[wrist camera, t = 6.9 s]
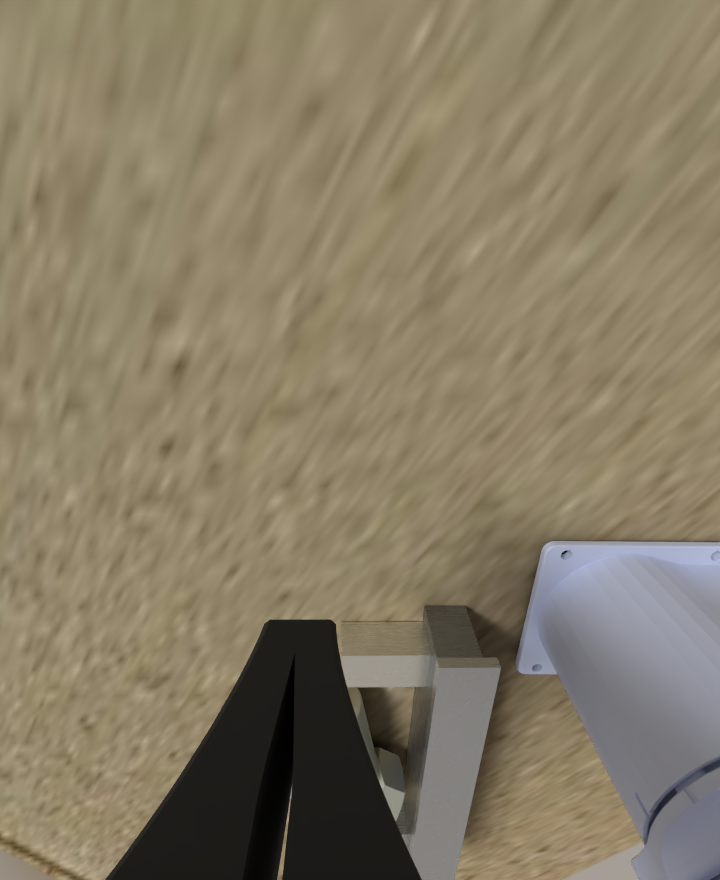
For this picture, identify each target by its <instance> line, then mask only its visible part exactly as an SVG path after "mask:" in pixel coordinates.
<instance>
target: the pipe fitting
mask: <svg viewBox="0 0 720 880" xmlns="http://www.w3.org/2000/svg"><path fill="white" fill-rule="evenodd" d="M347 688H348V692H349V696H350V699H351V702H352V705H353V708H354V712H355V715H356V718H357V721H358V724H359V727H360V731H361V734H362V736H363V739H364V742H365V745H366V748H367V751H368V753H369V756H370V759H371V761H372V764H373V767H374V769H375V772H376V775H377V777H378V780H379V783H380V785H381V788H382V790H383V793H384V795H385V797H386V800H387V802H388V805H389V807H390V810H391V812H392V814H393V817H394V819H395V821H396V820H397V818H398V815H399V813H400V810H401V807H402V804H403V800H404V795H405V780H404V773H403V769H402V765H401V761H400V758H399V756H398V755H396V754H394V753H391V752H389V751H386V750H384V749H382V748H374V746H373V742H372V738H371V734H370V730H369V726H368V722H367V717H366V713H365V709H364V705H363V701H362V697H361V693H360V691H359V689H358V688H357V687H347ZM291 796H292V788H291V794H290V800H291Z"/></svg>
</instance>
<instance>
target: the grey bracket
mask: <svg viewBox="0 0 720 880" xmlns="http://www.w3.org/2000/svg"><path fill="white" fill-rule="evenodd" d="M341 664H342V669H343V673H344V677H345V681H346V685H347V687H415V691H414V700H413V708H412V717H411V725H410V734H409V742H408V750H407V759H406V767H405V776H404V780H405V795H404V800H403V804H402V807H401V810H400V813H399V815H398V818H397V820H396V824H397V826H398V828H399V831H400V833H401V835H402V837H403V840H404V842H405V844H406V846H407V849H408V851H409V853H410V855H411V857H412V860H413V862H414V864H415V866H416V868H417V870H418V872H419V875H420V877H421V879H422V880H455V876H456V871H457V867H458V862H459V858H460V853H461V849H462V844H463V839H464V835H465V830H466V826H467V821H468V817H469V812H470V808H471V803H472V798H473V794H474V789H475V785H476V780H477V776H478V771H479V766H480V762H481V757H482V753H483V748H484V744H485V739H486V735H487V730H488V725H489V721H490V716H491V712H492V707H493V703H494V698H495V694H496V689H497V684H498V680H499V675H500V671H501V666H500V663H499V661H498V658H483V655H482V652H481V649H480V646H479V644H478V641H477V638H476V635H475V632H474V629H473V626H472V624H471V621H470V618H469V615H468V612H467V609H466V606H425V607H424V615H423V622H342V626H341Z"/></svg>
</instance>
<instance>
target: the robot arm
mask: <svg viewBox="0 0 720 880" xmlns="http://www.w3.org/2000/svg"><path fill="white" fill-rule="evenodd" d="M566 550H568V551H567V552H566V553H565V554H562V552H564V551H566ZM515 665H516V667H517V670H518V671H519V672H520V673H521V674H557V675H558V677H559V678H560V680H561V682H562V684H563V686H564V688H565V690H566V692H567V694H568V696H569V698H570V700H571V702H572V704H573V706H574V708H575V710H576V712H577V714H578V716H579V718H580V720H581V722H582V723H583V725H584V727H585V729H586V731H587V733H588V735H589V737H590V739H591V741H592V743H593V745H594V747H595V749H596V751H597V753H598V755H599V757H600V759H601V761H602V763H603V765H604V767H605V768H606V770H607V772H608V774H609V776H610V778H611V780H612V782H613V784H614V786H615V788H616V790H617V792H618V794H619V796H620V798H621V800H622V802H623V804H624V806H625V808H626V810H627V811H628V813H629V815H630V817H631V819H632V821H633V823H634V825H635V827H636V829H637V831H638V833H639V835H640V837H641V839H642V841H643V843H644V845H645V847H644V849H643V850H642V851H641V852H640V853H639V854H638V855H637V856H635V857H634V858H633V859H632V860H631V864H632V866H633V868H634V870H635V872H636V875H637V877H638V879H639V880H720V542H617V541H552V542H549V543H547V544H546V545H545V546H543V548H542V551H541V555H540V559H539V564H538V568H537V572H536V576H535V581H534V585H533V589H532V594H531V598H530V602H529V606H528V611H527V615H526V619H525V623H524V628H523V632H522V636H521V640H520V645H519V649H518V653H517V657H516V662H515ZM291 788H292V796H291V806H290V815H289V824H288V833H287V842H286V851H285V860H284V870H283V878H282V880H422V879H421V877H420V875H419V872H418V870H417V868H416V866H415V864H414V862H413V860H412V857H411V855H410V853H409V851H408V849H407V846H406V844H405V842H404V840H403V837H402V835H401V833H400V831H399V828H398V826H397V824H396V821H395V819H394V817H393V814H392V812H391V810H390V807H389V805H388V802H387V800H386V797H385V795H384V793H383V790H382V788H381V785H380V783H379V780H378V777H377V775H376V772H375V769H374V767H373V764H372V761H371V759H370V756H369V753H368V751H367V748H366V745H365V742H364V739H363V736H362V734H361V731H360V727H359V724H358V721H357V718H356V715H355V712H354V708H353V705H352V702H351V699H350V696H349V692H348V688H347V685H346V681H345V677H344V673H343V669H342V664H341V660H340V655H339V649H338V643H337V635H336V624H335V623H334V622H333V621H332V620H269V621H268V622H266V623H265V624H264V626H263V629H262V631H261V634H260V636H259V638H258V641H257V643H256V645H255V647H254V649H253V651H252V653H251V655H250V657H249V659H248V661H247V663H246V665H245V667H244V669H243V671H242V673H241V675H240V677H239V679H238V681H237V682H236V684H235V686H234V688H233V690H232V691H231V693H230V695H229V697H228V698H227V700H226V702H225V704H224V705H223V707H222V709H221V711H220V712H219V714H218V716H217V717H216V719H215V721H214V723H213V724H212V726H211V728H210V729H209V731H208V733H207V734H206V736H205V737H204V739H203V740H202V742H201V744H200V745H199V747H198V748H197V750H196V751H195V753H194V754H193V756H192V758H191V759H190V761H189V762H188V764H187V765H186V767H185V769H184V770H183V772H182V773H181V775H180V776H179V778H178V779H177V781H176V782H175V784H174V785H173V787H172V788H171V790H170V791H169V793H168V794H167V796H166V797H165V799H164V800H163V802H162V803H161V804H160V806H159V807H158V809H157V810H156V812H155V813H154V814H153V816H152V817H151V819H150V820H149V822H148V823H147V824H146V826H145V827H144V828H143V830H142V831H141V833H140V834H139V835H138V837H137V838H136V839H135V841H134V842H133V844H132V845H131V846H130V848H129V849H128V851H127V852H126V853H125V855H124V856H123V857H122V859H121V860H120V861H119V863H118V864H117V865H116V867H115V868H114V869H113V870H112V872H111V873H110V874H109V876H108V877H107V878H106V880H277V876H278V870H279V864H280V858H281V851H282V845H283V839H284V832H285V826H286V820H287V813H288V807H289V801H290V794H291Z"/></svg>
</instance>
